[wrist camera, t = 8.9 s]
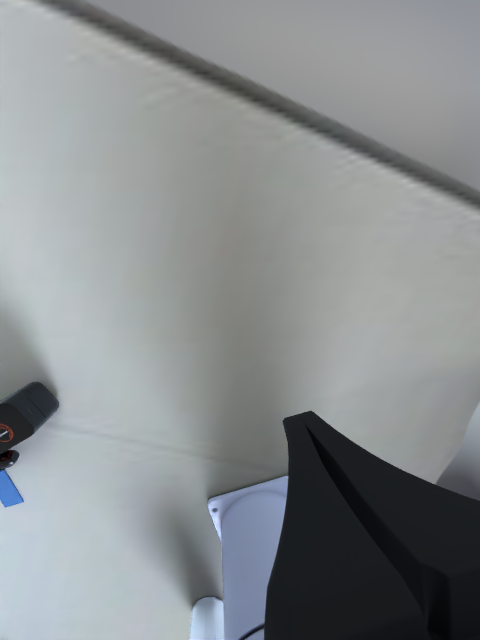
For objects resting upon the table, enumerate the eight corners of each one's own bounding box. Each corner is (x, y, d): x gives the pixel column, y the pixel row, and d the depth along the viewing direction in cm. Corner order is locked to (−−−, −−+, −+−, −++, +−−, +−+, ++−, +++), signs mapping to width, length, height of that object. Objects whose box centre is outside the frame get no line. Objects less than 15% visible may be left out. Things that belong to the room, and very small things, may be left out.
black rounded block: (-39, 422, 19) (-89, 455, 16) (41, 375, 19) (7, 399, 16) (6, 465, 20) (-32, 503, 17) (82, 421, 20) (58, 451, 17)
